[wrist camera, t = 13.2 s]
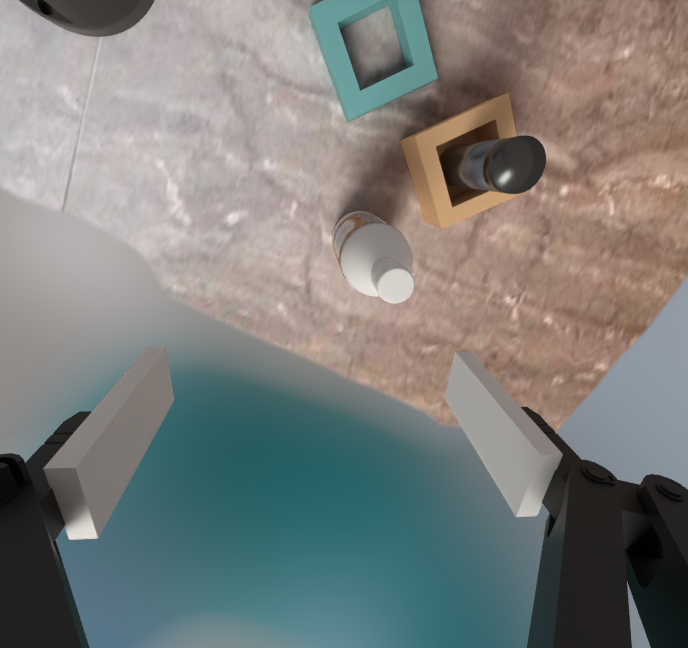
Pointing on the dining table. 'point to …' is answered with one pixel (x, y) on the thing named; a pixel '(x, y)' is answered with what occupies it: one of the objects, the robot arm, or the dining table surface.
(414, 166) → the socket
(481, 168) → the pin
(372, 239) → the bath foam
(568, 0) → the dining table surface
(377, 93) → the mount
